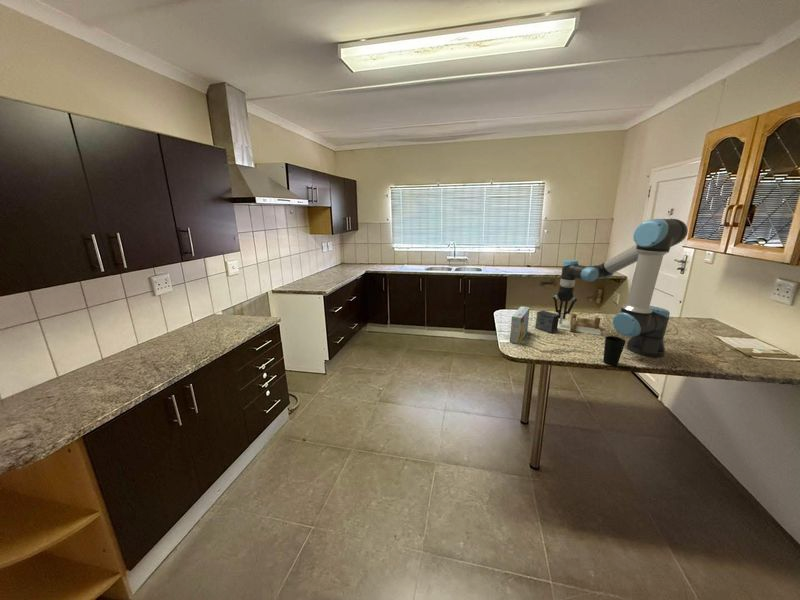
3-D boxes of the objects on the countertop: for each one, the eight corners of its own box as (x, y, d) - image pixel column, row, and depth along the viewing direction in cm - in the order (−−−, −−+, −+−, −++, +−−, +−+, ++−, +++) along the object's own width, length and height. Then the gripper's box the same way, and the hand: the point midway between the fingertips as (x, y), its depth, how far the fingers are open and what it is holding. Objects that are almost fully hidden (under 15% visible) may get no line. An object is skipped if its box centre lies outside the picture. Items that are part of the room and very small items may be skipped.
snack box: (517, 329, 183) (520, 305, 178) (527, 331, 180) (530, 307, 175) (508, 342, 166) (511, 315, 161) (519, 344, 163) (522, 317, 158)
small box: (557, 331, 180) (560, 314, 178) (551, 333, 177) (553, 316, 174) (540, 326, 189) (543, 309, 186) (534, 328, 185) (536, 311, 182)
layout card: (598, 326, 188) (598, 325, 188) (600, 335, 175) (600, 334, 175) (548, 319, 201) (548, 318, 201) (546, 326, 187) (546, 326, 187)
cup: (602, 365, 141) (607, 341, 138) (598, 358, 148) (603, 335, 144) (622, 368, 138) (628, 343, 135) (617, 360, 145) (622, 337, 142)
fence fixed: (598, 328, 185) (600, 317, 183) (598, 329, 183) (600, 318, 181) (569, 323, 192) (571, 313, 190) (569, 325, 190) (571, 314, 188)
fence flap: (570, 324, 189) (571, 315, 187) (575, 325, 188) (576, 316, 186) (570, 331, 179) (571, 321, 177) (575, 332, 178) (577, 322, 176)
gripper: (554, 286, 180) (548, 323, 187) (579, 288, 174) (572, 327, 181) (554, 283, 186) (549, 319, 193) (579, 285, 181) (572, 323, 187)
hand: (560, 323), depth 187 cm, fingers closed
